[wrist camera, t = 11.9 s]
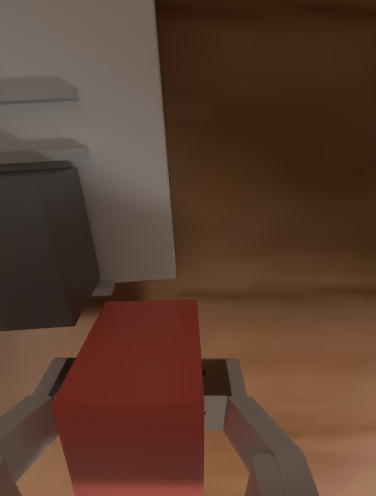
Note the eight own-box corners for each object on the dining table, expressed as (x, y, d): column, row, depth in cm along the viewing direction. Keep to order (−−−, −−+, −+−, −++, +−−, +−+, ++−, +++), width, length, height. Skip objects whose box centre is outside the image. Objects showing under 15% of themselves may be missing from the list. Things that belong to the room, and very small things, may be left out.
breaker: (77, 167, 10) (33, 180, 7) (100, 277, 12) (74, 326, 9) (-52, 174, 10) (-153, 191, 7) (-7, 284, 12) (-70, 336, 9)
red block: (197, 300, 12) (204, 401, 7) (197, 370, 13) (202, 495, 8) (106, 301, 11) (51, 404, 7) (115, 371, 13) (75, 497, 8)
